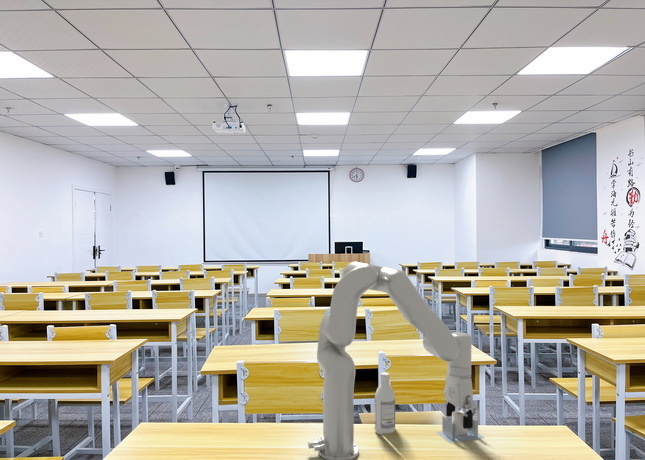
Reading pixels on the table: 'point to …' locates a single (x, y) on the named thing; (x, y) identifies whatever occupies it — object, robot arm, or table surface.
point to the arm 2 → (474, 428)
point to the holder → (461, 438)
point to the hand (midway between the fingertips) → (459, 421)
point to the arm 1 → (448, 428)
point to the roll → (459, 423)
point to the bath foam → (384, 407)
